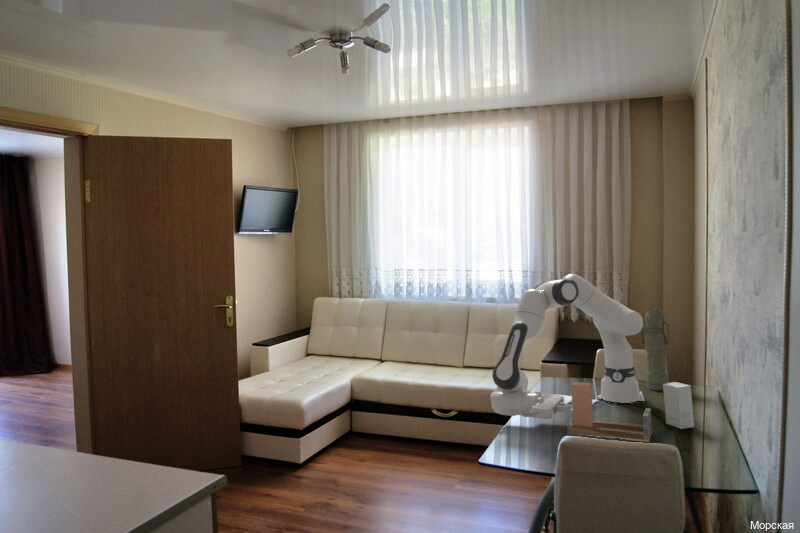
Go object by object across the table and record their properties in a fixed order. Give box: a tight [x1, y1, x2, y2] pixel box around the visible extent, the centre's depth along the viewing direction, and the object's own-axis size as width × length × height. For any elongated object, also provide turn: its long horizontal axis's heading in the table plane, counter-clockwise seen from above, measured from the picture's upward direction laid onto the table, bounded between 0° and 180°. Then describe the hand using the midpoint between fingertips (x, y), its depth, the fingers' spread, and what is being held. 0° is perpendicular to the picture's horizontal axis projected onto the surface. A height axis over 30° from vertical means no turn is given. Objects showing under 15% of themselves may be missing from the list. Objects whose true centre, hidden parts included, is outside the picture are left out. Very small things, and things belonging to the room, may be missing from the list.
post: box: [570, 381, 594, 427], centre depth 212 cm, size 5×6×16 cm
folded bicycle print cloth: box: [554, 393, 600, 411], centre depth 249 cm, size 19×20×2 cm
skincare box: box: [662, 381, 695, 430], centre depth 213 cm, size 8×6×15 cm
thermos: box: [640, 309, 671, 392], centre depth 266 cm, size 9×12×35 cm
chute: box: [566, 407, 653, 443], centre depth 208 cm, size 10×26×9 cm, turn 62°
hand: (571, 408), depth 214 cm, fingers closed
